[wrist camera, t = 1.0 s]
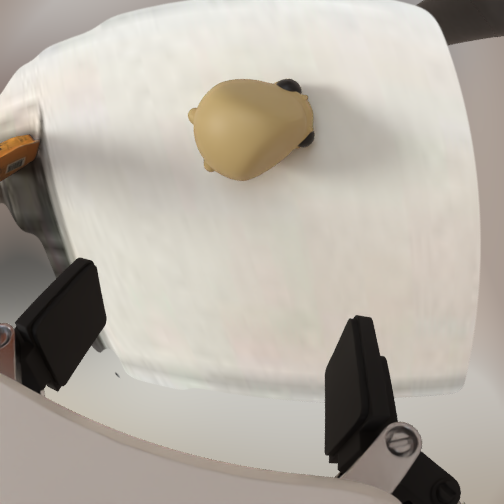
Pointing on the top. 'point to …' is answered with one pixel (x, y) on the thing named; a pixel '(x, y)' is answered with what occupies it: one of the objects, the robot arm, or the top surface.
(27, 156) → the pancake mix bag
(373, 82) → the top surface
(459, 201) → the top surface
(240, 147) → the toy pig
